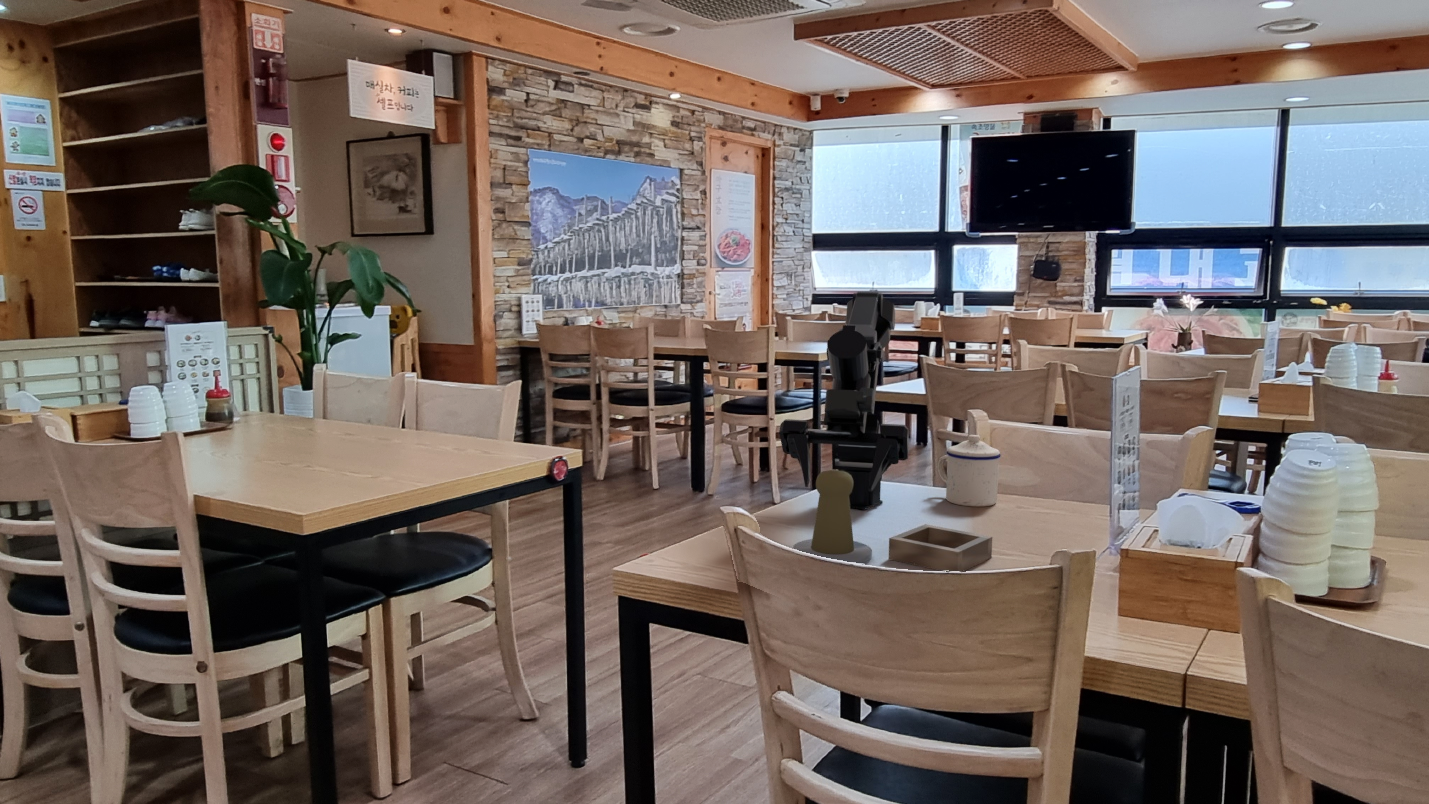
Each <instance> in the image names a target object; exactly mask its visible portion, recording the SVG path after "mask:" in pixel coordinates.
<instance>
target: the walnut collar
mask: <svg viewBox="0 0 1429 804" xmlns="http://www.w3.org/2000/svg"><path fill="white" fill-rule="evenodd" d="M992 552H993V536H989V535H985V534H979V533H975V532H969V531H965V530H964V531H963V530H957V529H953V528H947V527H941V526H936V525H933V524H932V525H931V524H927V523H925V524H922V525H920V526H917V527H915V528H912V529H909V530H906V531H904V532H902V533H899V534H897V535H893V536H891V537H889V538H888V560H890V561H896V562H900V563H905V564H909V565H913V566H917V567H922V568H928V569H931V568H932V570H937V571H940V570H949V571H963V570H965V571H967V570H969V569H971V568H973V567H976V566H977V565H979V564H981V563H984V562H986V561H988V560H990V559H992V555H993V554H992ZM963 572H964V571H963Z"/></svg>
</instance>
